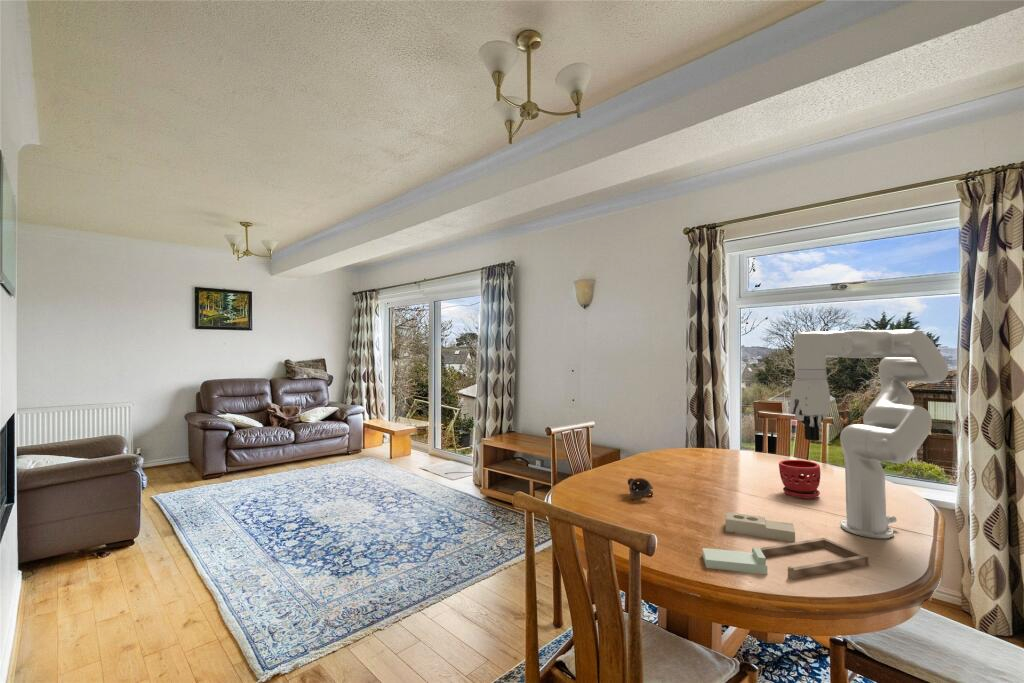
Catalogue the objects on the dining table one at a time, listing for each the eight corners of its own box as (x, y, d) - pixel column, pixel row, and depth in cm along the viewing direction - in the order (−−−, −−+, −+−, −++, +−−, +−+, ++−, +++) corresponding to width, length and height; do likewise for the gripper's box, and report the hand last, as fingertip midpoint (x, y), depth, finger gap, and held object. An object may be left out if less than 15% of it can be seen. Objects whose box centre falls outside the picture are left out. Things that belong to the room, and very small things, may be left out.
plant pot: (808, 489, 177) (808, 458, 178) (828, 501, 164) (828, 467, 164) (773, 489, 179) (772, 458, 179) (790, 500, 166) (789, 467, 166)
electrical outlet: (794, 528, 131) (725, 519, 139) (795, 543, 131) (725, 532, 139) (792, 520, 137) (726, 511, 146) (793, 534, 137) (726, 524, 146)
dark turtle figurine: (660, 499, 171) (657, 483, 167) (642, 514, 167) (638, 498, 164) (637, 483, 181) (633, 468, 177) (619, 497, 177) (615, 481, 174)
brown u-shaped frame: (823, 544, 129) (823, 535, 129) (868, 564, 117) (868, 554, 117) (752, 556, 122) (752, 547, 122) (792, 579, 110) (791, 568, 110)
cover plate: (760, 562, 120) (760, 547, 120) (767, 575, 113) (767, 559, 113) (702, 557, 123) (702, 541, 124) (706, 569, 117) (705, 553, 117)
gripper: (818, 373, 136) (820, 435, 136) (778, 375, 132) (779, 439, 132) (843, 375, 129) (845, 440, 129) (801, 377, 125) (802, 444, 125)
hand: (812, 439), depth 131 cm, fingers closed
